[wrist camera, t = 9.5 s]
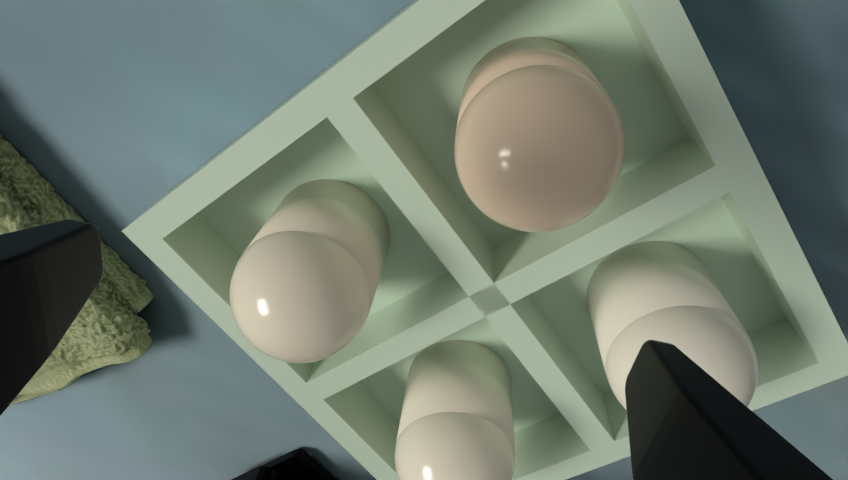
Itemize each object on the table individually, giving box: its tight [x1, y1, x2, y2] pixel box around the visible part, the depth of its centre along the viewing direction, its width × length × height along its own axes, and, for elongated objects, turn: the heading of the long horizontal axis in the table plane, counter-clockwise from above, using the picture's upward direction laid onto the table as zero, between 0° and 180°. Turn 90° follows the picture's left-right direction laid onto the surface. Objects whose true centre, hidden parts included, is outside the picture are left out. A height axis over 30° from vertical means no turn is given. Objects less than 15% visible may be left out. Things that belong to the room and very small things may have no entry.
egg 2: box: [395, 340, 515, 480], centre depth 22 cm, size 4×4×6 cm
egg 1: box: [230, 179, 390, 363], centre depth 19 cm, size 4×4×6 cm
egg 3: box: [586, 241, 758, 411], centre depth 19 cm, size 4×4×6 cm
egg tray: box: [122, 0, 848, 480], centre depth 21 cm, size 18×18×3 cm
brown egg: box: [454, 37, 625, 233], centre depth 16 cm, size 4×4×6 cm
